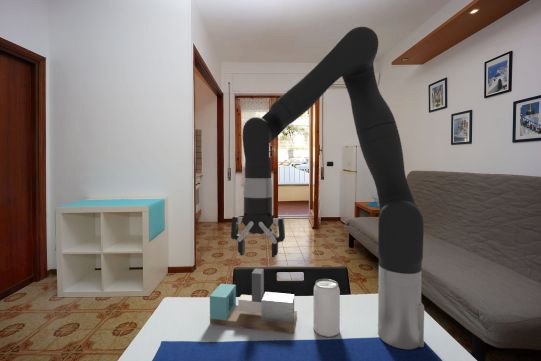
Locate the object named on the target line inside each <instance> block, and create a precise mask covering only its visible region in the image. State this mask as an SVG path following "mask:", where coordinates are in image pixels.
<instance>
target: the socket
mask: <svg viewBox="0 0 541 361" xmlns="http://www.w3.org/2000/svg"><path fill="white" fill-rule="evenodd" d="M236 305H237V285H236V284H232V283H231V284H230V283H220V284H219V285H218V286H217V287H216V289H215V290H214V291H213V292H212V293H211V294H210V295H209V320H210V319H219V320H227V318H228V317H229V315H230V314H231V312H232V311H233V309H234V308H235V306H236Z"/></svg>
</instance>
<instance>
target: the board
mask: <svg viewBox="0 0 541 361" xmlns="http://www.w3.org/2000/svg"><path fill="white" fill-rule="evenodd" d="M297 312H298V311H296V310H294V318H293V323H292V324H290V323H280V322H271V321H261V313H257V312H247V311H238V304H236V306H235V308H234V309H233V311H232V312H231V314H230V315H229V317H228V318H227V320H219V319H210V318H209V325H213V326H222V327H223V326H225V327H231V328H241V329H250V330H258V331H259V330H261V331H269V332H277V333H278V332H279V333H286V334H294V333H295V327H296V322H297V316H298V314H297Z"/></svg>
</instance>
